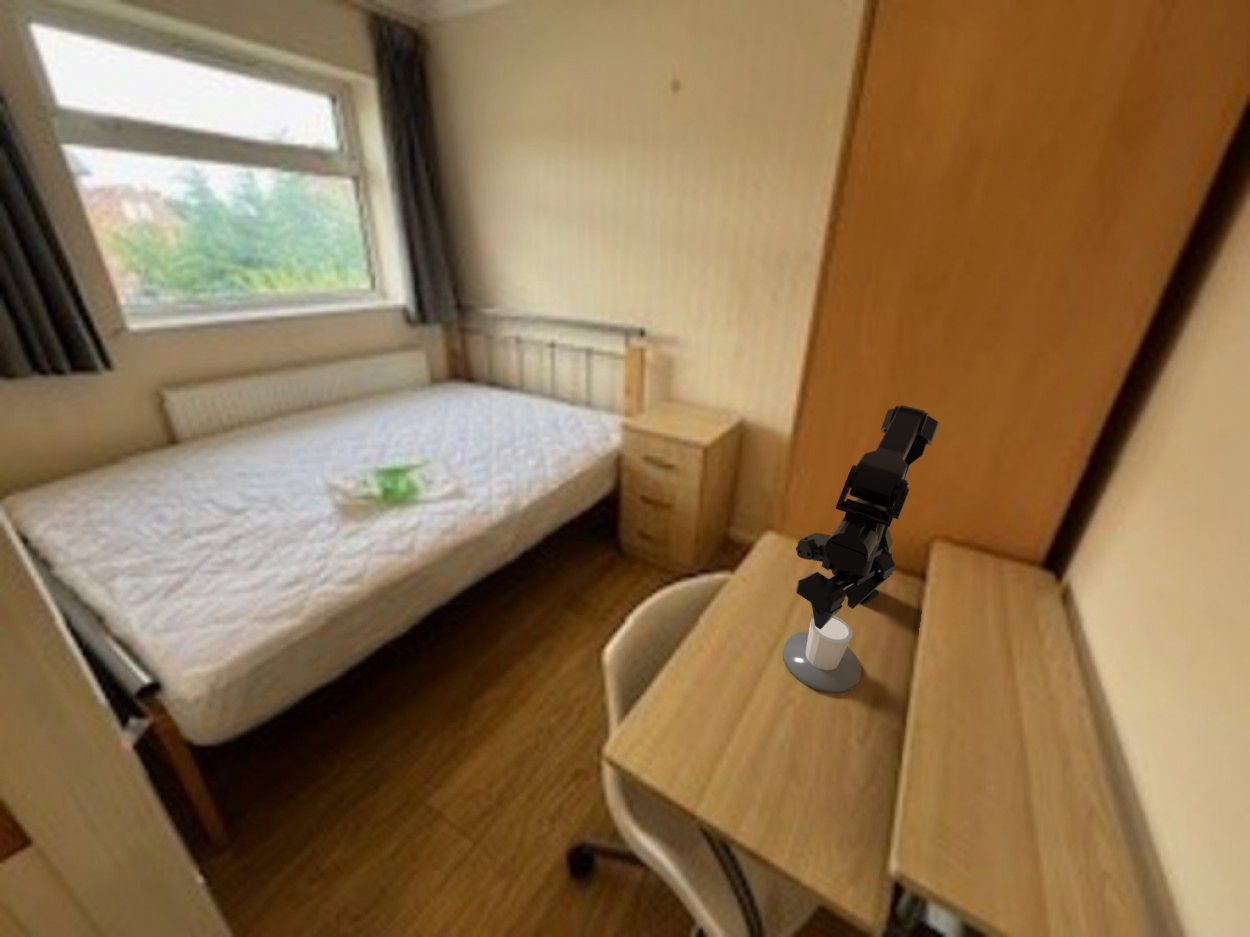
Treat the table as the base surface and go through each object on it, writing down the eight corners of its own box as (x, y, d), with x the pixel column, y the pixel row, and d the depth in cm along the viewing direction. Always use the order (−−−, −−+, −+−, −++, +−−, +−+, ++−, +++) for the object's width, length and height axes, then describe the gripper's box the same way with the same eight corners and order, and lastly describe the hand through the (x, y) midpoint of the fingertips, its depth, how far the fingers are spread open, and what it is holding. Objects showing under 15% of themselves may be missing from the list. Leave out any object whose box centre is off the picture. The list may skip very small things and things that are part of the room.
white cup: (837, 645, 99) (846, 615, 96) (847, 675, 93) (857, 644, 90) (798, 641, 99) (806, 611, 96) (806, 670, 93) (815, 639, 90)
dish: (812, 627, 105) (813, 622, 104) (874, 671, 96) (876, 666, 95) (767, 655, 97) (768, 650, 97) (830, 706, 88) (832, 701, 88)
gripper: (847, 500, 95) (826, 573, 102) (778, 531, 85) (760, 609, 92) (908, 531, 88) (881, 607, 95) (841, 568, 77) (816, 651, 84)
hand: (834, 616), depth 92 cm, fingers open, 9 cm apart
